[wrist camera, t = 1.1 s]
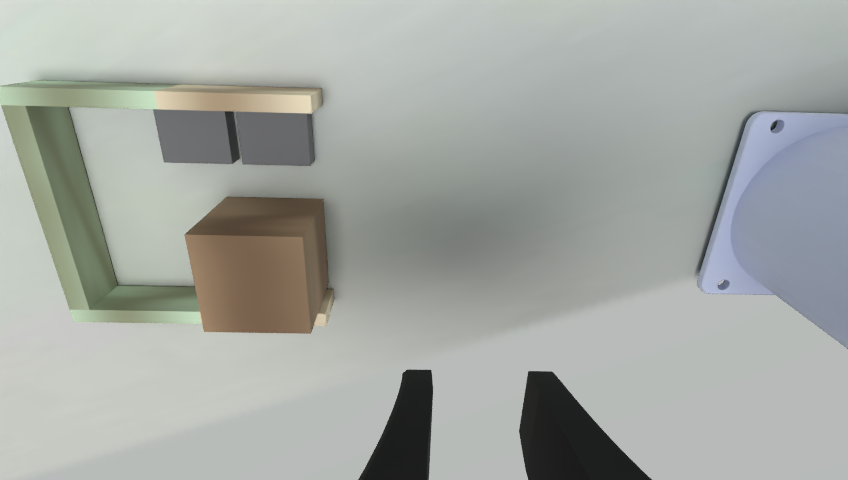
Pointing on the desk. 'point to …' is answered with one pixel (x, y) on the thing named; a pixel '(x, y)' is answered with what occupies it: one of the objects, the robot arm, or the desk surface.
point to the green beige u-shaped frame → (72, 198)
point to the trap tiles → (217, 143)
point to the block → (260, 264)
